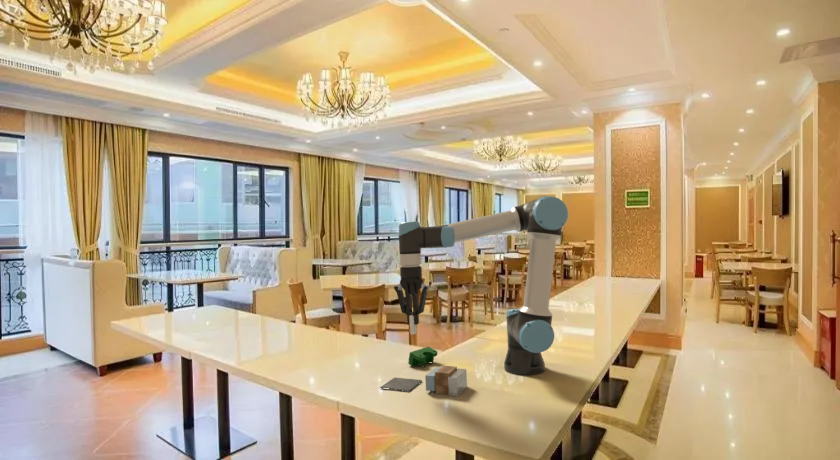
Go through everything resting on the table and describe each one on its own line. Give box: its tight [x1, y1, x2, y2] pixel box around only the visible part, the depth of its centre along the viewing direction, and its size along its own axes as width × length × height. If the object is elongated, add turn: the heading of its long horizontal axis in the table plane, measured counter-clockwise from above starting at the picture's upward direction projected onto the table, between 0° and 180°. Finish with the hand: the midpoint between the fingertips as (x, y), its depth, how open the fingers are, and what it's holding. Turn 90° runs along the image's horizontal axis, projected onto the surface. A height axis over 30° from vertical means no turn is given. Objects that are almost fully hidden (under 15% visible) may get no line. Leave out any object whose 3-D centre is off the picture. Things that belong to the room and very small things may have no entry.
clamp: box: [408, 346, 439, 367], centre depth 183 cm, size 12×6×9 cm, turn 132°
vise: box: [379, 367, 468, 397], centre depth 155 cm, size 28×11×6 cm, turn 67°
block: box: [435, 365, 458, 395], centre depth 152 cm, size 5×8×7 cm, turn 157°
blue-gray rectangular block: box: [424, 366, 442, 392], centre depth 154 cm, size 3×10×5 cm, turn 157°
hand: (413, 333), depth 157 cm, fingers closed
